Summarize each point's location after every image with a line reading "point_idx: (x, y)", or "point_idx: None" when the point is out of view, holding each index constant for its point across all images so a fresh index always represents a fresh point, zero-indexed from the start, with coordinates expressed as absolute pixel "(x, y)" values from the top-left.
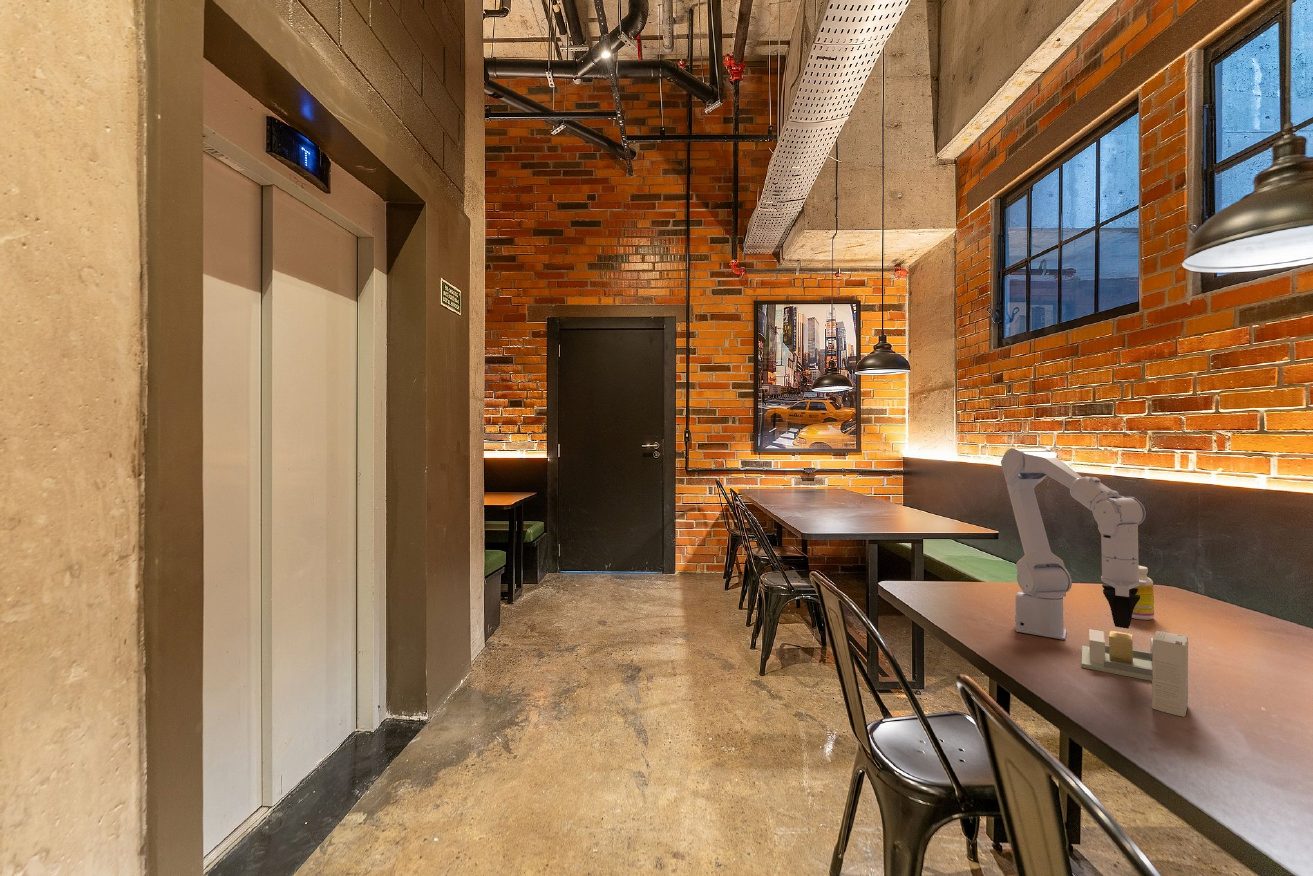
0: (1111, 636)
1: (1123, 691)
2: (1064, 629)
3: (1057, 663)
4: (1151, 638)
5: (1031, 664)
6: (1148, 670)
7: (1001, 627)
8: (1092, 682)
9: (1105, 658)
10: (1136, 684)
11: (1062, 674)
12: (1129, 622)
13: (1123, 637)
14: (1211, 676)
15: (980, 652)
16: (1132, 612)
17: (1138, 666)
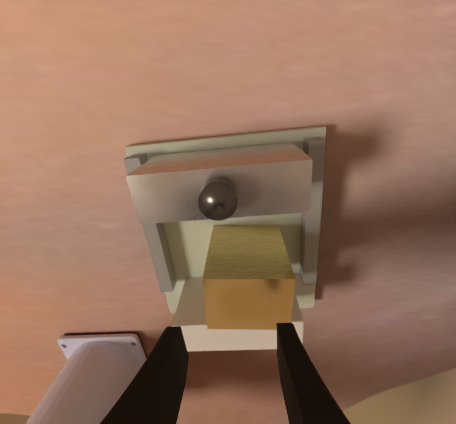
0: None
1: (438, 231)
2: (65, 341)
3: (312, 331)
4: (152, 220)
5: (349, 360)
6: (321, 198)
7: None
8: (405, 280)
9: None
10: (367, 210)
11: (381, 321)
12: (305, 350)
13: (273, 299)
14: (146, 32)
15: None
16: (342, 414)
17: (312, 221)
